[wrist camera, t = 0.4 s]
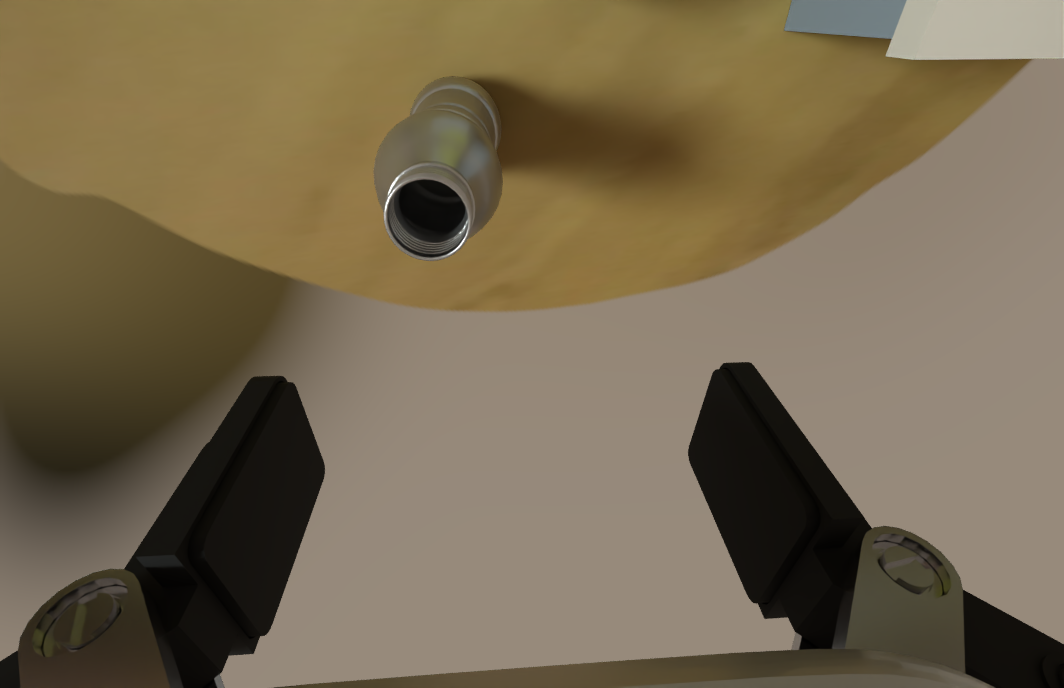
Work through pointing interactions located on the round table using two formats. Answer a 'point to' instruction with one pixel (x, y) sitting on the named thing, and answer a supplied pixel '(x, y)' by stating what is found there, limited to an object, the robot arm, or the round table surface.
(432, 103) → the plastic bottle
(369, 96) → the round table surface
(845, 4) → the box
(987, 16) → the lid
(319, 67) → the round table surface
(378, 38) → the round table surface
